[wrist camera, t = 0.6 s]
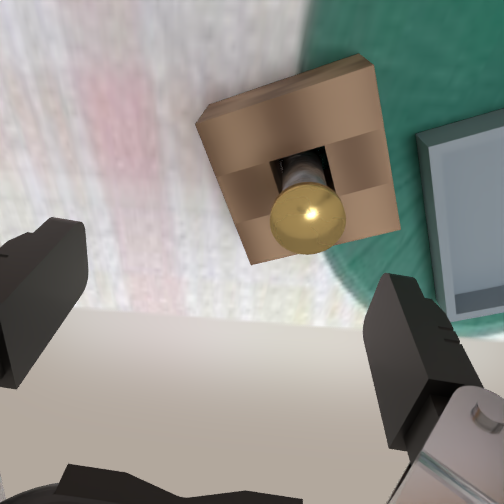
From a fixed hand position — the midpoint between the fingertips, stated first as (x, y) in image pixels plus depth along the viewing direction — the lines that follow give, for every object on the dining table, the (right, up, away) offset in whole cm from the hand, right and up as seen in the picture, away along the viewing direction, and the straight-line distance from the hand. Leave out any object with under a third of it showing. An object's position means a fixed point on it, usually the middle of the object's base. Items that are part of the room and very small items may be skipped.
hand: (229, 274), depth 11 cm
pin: (+5, +9, +23) cm, 25 cm away
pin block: (+5, +9, +23) cm, 25 cm away
